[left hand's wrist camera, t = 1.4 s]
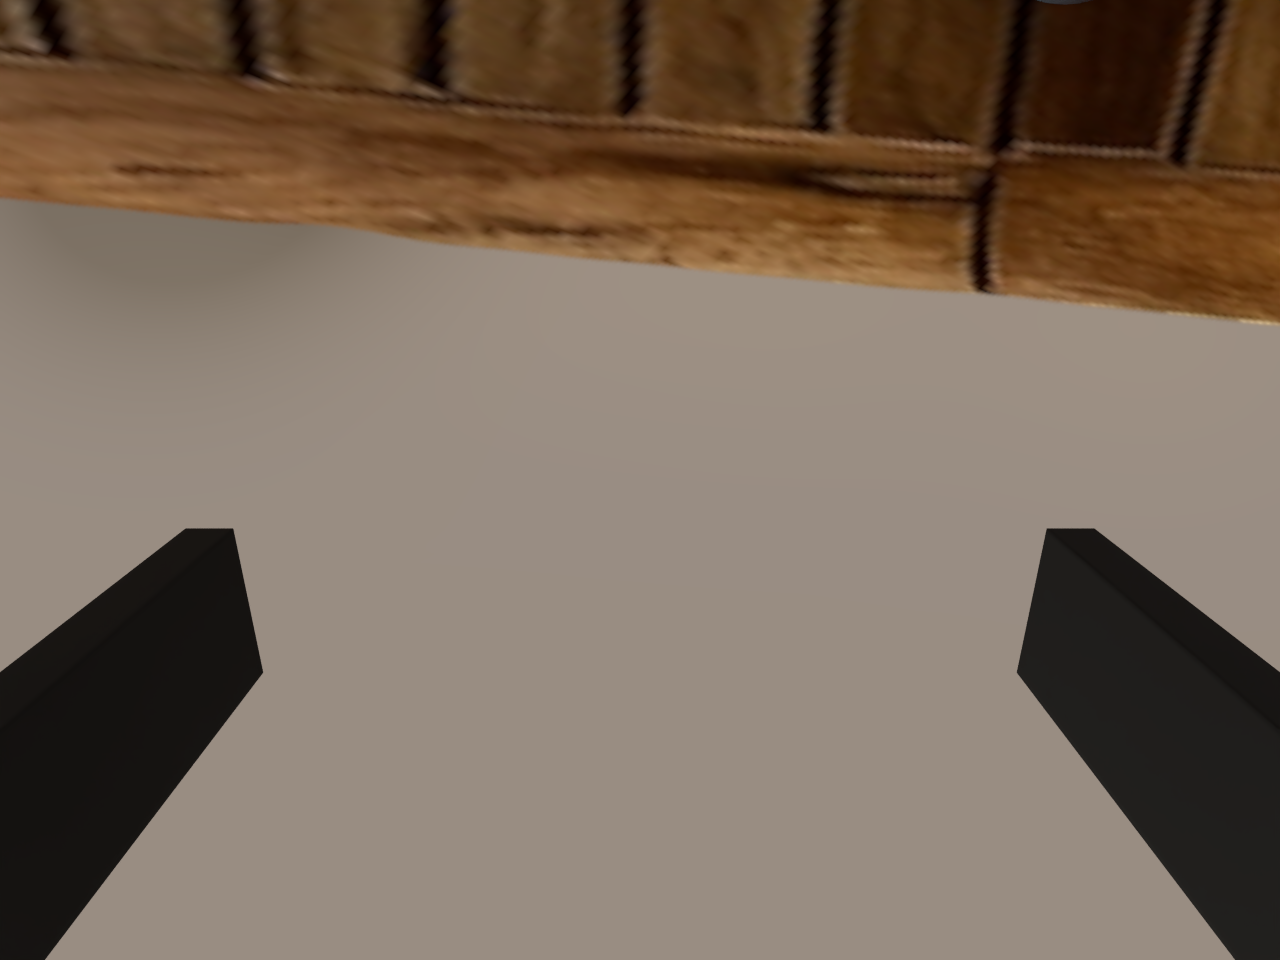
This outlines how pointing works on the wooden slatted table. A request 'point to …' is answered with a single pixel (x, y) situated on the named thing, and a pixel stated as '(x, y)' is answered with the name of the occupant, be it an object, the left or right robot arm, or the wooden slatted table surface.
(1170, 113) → the wooden slatted table surface
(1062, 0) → the jar
